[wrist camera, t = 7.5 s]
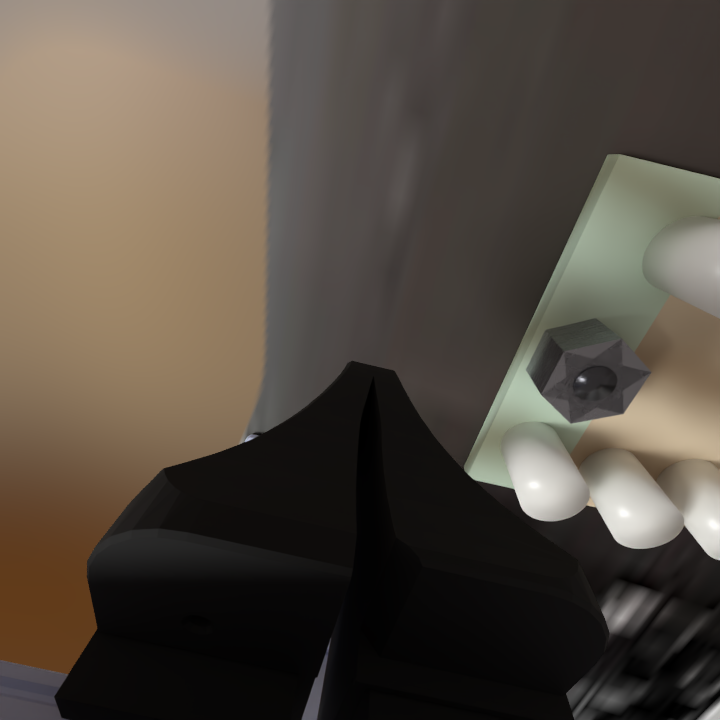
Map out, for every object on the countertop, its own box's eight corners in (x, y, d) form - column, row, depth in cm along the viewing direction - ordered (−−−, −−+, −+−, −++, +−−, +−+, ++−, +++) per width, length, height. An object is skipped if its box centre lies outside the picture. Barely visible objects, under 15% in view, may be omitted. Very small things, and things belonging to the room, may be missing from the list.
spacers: (706, 513, 23) (761, 577, 20) (488, 464, 23) (505, 520, 19) (933, 272, 16) (1084, 303, 13) (622, 196, 16) (688, 207, 12)
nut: (588, 404, 20) (611, 433, 18) (516, 388, 20) (530, 415, 18) (635, 327, 18) (667, 350, 16) (555, 308, 18) (577, 328, 16)
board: (672, 513, 25) (683, 526, 24) (463, 466, 24) (466, 478, 24) (920, 231, 16) (951, 235, 15) (607, 154, 16) (619, 154, 15)
